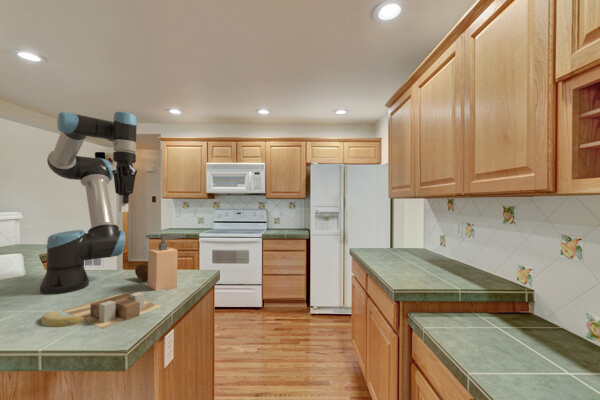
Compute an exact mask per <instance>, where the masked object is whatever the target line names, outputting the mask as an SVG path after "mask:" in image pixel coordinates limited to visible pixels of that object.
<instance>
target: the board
mask: <svg viewBox="0 0 600 400" xmlns="http://www.w3.org/2000/svg"><path fill="white" fill-rule="evenodd" d="M122 294H123V293H119V294H116V295H112V296H109V297H108V296H107V297H106V298H101V299H98V300H95V301H91V302H88V303H84V304H80V305H78V306H74V307H70V308H68V309H67V308H66V309H65V310H62V312H64V313H66V314H69V315H71V316H78V317H84V318H85V319H86V321H85V322H88V323H90V324H92V325H93V326H97V327H99V328H101V329H106V328H109V327H111V326H114V325H116V324H119V323H122V322H124V321H126V320H125V319H122V318H119V317H117V316H115V319H113V320H110V321H108V322H105V323H104V322H102V321H99V319H95V318H93V317H90V309H91V303H94V302H98V301H101V300H105V299H108V298H112V297H115V296H118V295H122ZM161 307H162V305H159V304H156V303H153V302H149V301H146V300H144V309H141V310H140V315H143V314H145V313H148V312H151V311H153V310H157V309H158V308H161Z"/></svg>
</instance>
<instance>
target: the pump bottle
mask: <svg viewBox="0 0 600 400" xmlns="http://www.w3.org/2000/svg"><path fill="white" fill-rule="evenodd" d="M160 237H161V240H160V242H161V243H160V242H159V243H158V248H153V249H148V250H147V251H148V253H147V261H148V281H147V286H148V288H151V289H152V290H154V291H160V290H162V291H163V290H164V291H170V290H174V289H177V288H178V253H179V252H178V251H179V250H178V249H176V248H173V247H168V243H166V241H167V240H176V239H184V234H182V233H181V234H173V235H172V234H171V235H161V236H160Z"/></svg>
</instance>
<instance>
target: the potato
mask: <svg viewBox="0 0 600 400" xmlns="http://www.w3.org/2000/svg"><path fill="white" fill-rule="evenodd" d="M134 273H135V276H136V278H138V279H140V280H141V281H142V282H148V260H147V261H144V262H143V263H139V264H138V265H137V266H136V267H135V270H134Z"/></svg>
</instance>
